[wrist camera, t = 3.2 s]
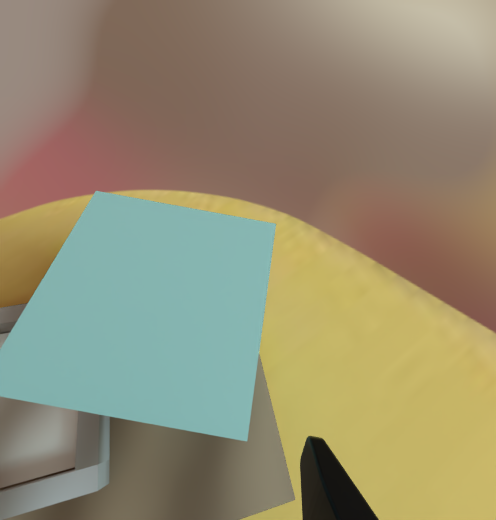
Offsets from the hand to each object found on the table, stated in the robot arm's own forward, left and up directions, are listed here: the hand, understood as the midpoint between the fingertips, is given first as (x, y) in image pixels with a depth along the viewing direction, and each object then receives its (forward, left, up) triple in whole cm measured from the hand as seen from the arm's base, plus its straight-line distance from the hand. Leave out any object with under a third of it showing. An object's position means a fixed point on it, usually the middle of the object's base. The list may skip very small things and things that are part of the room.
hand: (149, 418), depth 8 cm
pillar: (+1, +2, -9) cm, 9 cm away
